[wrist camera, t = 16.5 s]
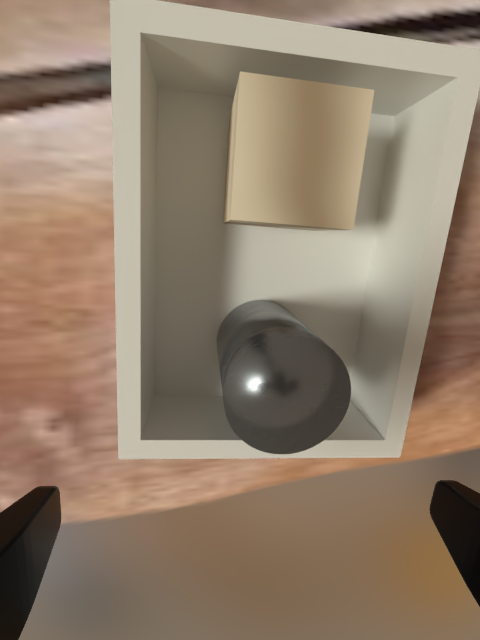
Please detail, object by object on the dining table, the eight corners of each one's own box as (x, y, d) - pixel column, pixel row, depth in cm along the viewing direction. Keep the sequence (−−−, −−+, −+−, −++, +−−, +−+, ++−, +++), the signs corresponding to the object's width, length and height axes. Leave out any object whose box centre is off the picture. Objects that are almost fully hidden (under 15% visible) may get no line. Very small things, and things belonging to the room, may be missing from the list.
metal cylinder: (214, 380, 20) (219, 454, 13) (219, 297, 19) (228, 333, 12) (295, 381, 21) (341, 454, 14) (305, 301, 19) (360, 338, 13)
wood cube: (223, 223, 18) (230, 219, 13) (229, 118, 17) (240, 71, 12) (314, 230, 18) (353, 229, 14) (326, 130, 17) (374, 89, 12)
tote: (137, 64, 16) (109, -8, 11) (410, 100, 18) (487, 51, 13) (138, 405, 20) (118, 459, 16) (357, 408, 22) (400, 457, 17)
